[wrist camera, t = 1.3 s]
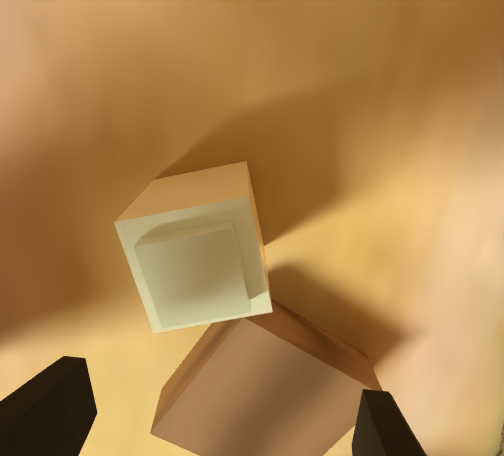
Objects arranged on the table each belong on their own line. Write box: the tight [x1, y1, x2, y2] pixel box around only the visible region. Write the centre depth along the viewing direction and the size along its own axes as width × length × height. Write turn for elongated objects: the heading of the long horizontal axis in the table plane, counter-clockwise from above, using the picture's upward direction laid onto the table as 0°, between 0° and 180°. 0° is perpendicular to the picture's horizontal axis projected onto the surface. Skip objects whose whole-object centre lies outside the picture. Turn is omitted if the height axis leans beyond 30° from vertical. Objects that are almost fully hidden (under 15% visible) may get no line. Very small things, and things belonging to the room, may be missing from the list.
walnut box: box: [150, 300, 383, 456], centre depth 21 cm, size 9×9×4 cm
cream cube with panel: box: [114, 161, 273, 333], centre depth 15 cm, size 5×5×7 cm
